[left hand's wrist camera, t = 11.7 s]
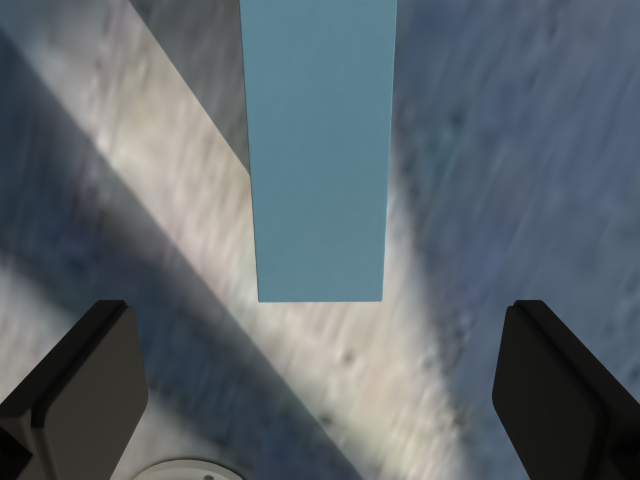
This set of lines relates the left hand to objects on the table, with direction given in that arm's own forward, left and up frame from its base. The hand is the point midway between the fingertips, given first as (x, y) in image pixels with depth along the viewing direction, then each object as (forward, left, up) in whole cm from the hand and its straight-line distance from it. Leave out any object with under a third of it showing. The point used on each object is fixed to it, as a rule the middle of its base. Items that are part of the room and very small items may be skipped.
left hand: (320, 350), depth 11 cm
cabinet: (+1, +6, -20) cm, 21 cm away
